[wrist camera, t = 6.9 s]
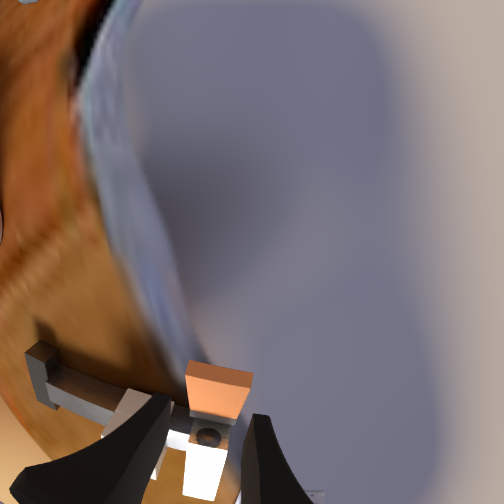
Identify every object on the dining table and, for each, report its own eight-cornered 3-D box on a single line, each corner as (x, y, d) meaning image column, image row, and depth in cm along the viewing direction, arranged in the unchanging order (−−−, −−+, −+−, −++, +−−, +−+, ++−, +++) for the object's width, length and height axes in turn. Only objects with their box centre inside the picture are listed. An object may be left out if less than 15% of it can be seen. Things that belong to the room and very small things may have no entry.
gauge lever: (254, 367, 13) (249, 394, 12) (237, 408, 19) (233, 427, 18) (190, 354, 13) (183, 380, 12) (194, 400, 19) (189, 418, 18)
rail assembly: (236, 391, 21) (227, 449, 15) (221, 450, 23) (213, 500, 17) (37, 329, 21) (-2, 360, 15) (51, 393, 23) (22, 427, 17)
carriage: (174, 401, 21) (154, 453, 16) (172, 432, 22) (156, 480, 17) (128, 388, 21) (100, 434, 15) (130, 420, 22) (108, 464, 16)
